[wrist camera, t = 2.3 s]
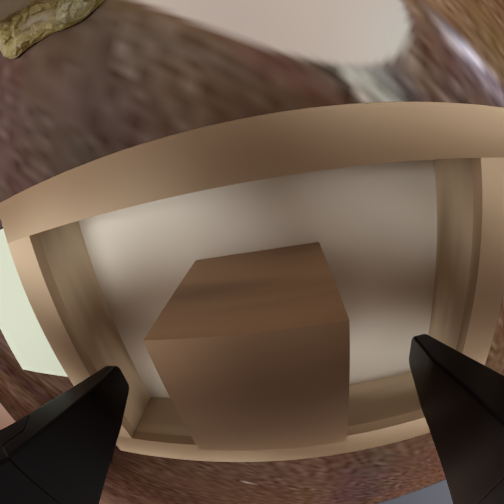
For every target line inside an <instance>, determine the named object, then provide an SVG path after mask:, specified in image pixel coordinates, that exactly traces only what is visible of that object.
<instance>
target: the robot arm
mask: <svg viewBox="0 0 504 504" xmlns="http://www.w3.org/2000/svg"><path fill="white" fill-rule="evenodd" d="M409 366H410V369H411V373H412V376H413V380H414V383H415V387H416V391H417V394H418V398H419V402H420V405H421V409H422V411H423V414H424V417H425V419H426V422H427V425H428V427H429V430H430V433H431V435H432V438H433V441H434V444H435V447H436V450H437V452H438V455H439V458H440V461H441V464H442V467H443V471H444V474H445V477H446V480H447V484H448V487H449V490H450V494H451V497H452V501H453V504H504V376H503V375H501V374H499V373H498V372H496V371H494V370H492V369H490V368H488V367H487V366H485V365H483V364H481V363H479V362H477V361H475V360H474V359H472V358H470V357H468V356H466V355H464V354H463V353H461V352H459V351H457V350H455V349H453V348H451V347H450V346H448V345H446V344H444V343H442V342H440V341H438V340H436V339H435V338H433V337H431V336H429V335H427V334H421V335H417V336H414V337H413V338H412V341H411V347H410V354H409ZM128 394H129V384H128V382H127V380H126V378H125V377H124V375H123V373H122V371H121V369H120V368H119V367H118V366H110V365H109V366H105V367H104V368H102V369H101V370H99V371H97V372H96V373H94V374H93V375H91V376H90V377H88V378H86V379H85V380H83V381H82V382H80V383H78V384H77V385H75V386H74V387H72V388H70V389H69V390H67V391H66V392H64V393H62V394H61V395H59V396H58V397H56V398H54V399H53V400H51V401H50V402H48V403H46V404H45V405H43V406H41V407H40V408H38V409H37V410H35V411H33V412H32V413H31V414H28V415H27V416H25V417H23V418H22V419H20V420H18V421H17V422H15V423H13V424H11V425H10V426H8V427H6V428H4V429H2V430H0V504H99V501H100V497H101V494H102V490H103V486H104V483H105V479H106V476H107V472H108V469H109V465H110V464H111V463H112V459H111V458H112V455H113V452H114V449H115V445H116V442H117V439H118V436H119V433H120V429H121V425H122V421H123V416H124V412H125V407H126V403H127V398H128Z"/></svg>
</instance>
